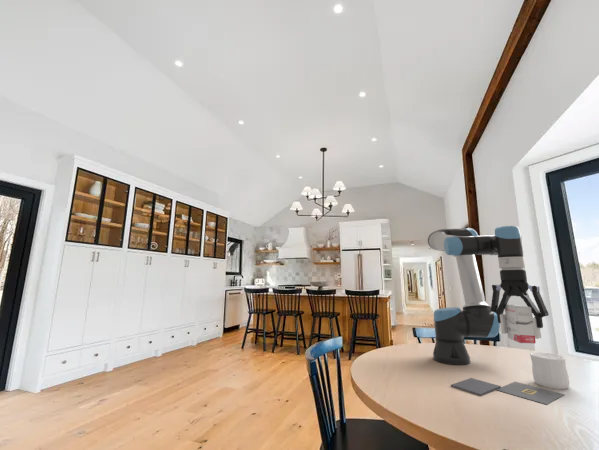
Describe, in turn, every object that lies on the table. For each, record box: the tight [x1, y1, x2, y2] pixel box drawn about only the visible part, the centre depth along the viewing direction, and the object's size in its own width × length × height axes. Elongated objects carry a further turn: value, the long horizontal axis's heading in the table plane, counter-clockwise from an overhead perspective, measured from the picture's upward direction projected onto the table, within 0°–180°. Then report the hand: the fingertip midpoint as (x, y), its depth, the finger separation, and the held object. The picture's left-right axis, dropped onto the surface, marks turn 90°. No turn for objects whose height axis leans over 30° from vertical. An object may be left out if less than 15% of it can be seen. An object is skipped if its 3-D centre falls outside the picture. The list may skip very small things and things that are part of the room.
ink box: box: [504, 303, 536, 344], centre depth 101 cm, size 9×5×12 cm, turn 168°
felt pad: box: [450, 377, 502, 397], centre depth 101 cm, size 10×13×1 cm
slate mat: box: [495, 381, 565, 405], centre depth 96 cm, size 14×14×1 cm
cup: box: [529, 352, 570, 390], centre depth 104 cm, size 10×10×10 cm
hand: (520, 335), depth 100 cm, fingers closed on ink box, 9 cm apart
